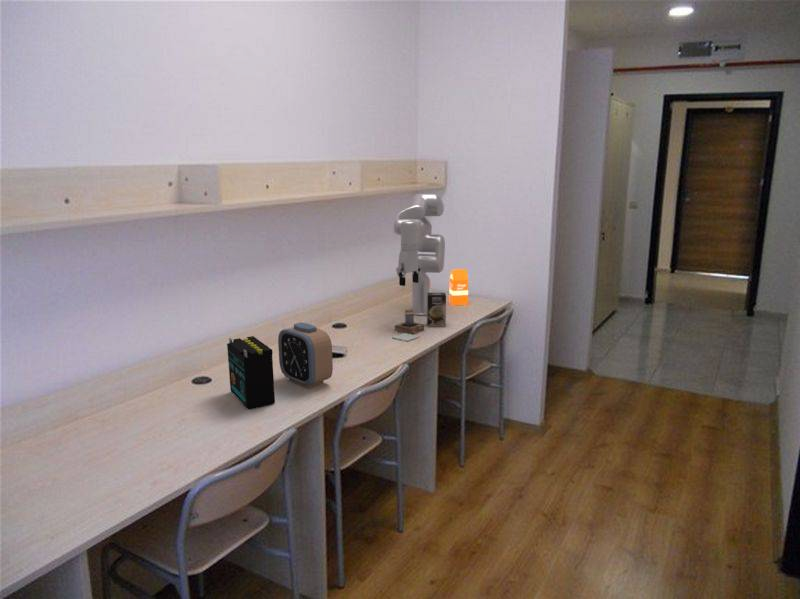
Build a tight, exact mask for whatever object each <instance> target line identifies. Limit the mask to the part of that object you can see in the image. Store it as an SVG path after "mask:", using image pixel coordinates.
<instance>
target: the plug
mask: <svg viewBox="0 0 800 599" xmlns="http://www.w3.org/2000/svg"><path fill="white" fill-rule="evenodd" d="M414 316H415V315H414V311H413V310H411V309H406V310H405V311H404V318H405V319H404V320H405V321H404V322H405V326H407V327H413V326H414V322H415V321H414V320H415V319H414V318H415V317H414Z"/></svg>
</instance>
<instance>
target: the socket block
mask: <svg viewBox="0 0 800 599" xmlns="http://www.w3.org/2000/svg"><path fill="white" fill-rule="evenodd" d="M395 331H397V332H396V333H399V332H402V333H401V334H403V333H408V334H413V335H416V334H418V332H419V333H421V332H425V324H423V323H420V322H419V323H418V322H415V321H414V326H413V327H407V326H405V321H404V322H401V323H398V324H395V325H394V332H395ZM420 331H421V332H420ZM415 333H416V334H415Z"/></svg>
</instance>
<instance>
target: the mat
mask: <svg viewBox="0 0 800 599" xmlns="http://www.w3.org/2000/svg"><path fill="white" fill-rule="evenodd" d="M418 337H420V335H417V334H413V335H412V334H408V333H400V334H397V335H394V336H392V337H391V338H392V339H393V338H395V339H394V340H397V339H399V340H398V341H401V340H404V341H403V342H405V341H408V342H411V341H413V340H412V339H414V340H417V339H419V338H418ZM416 338H417V339H416ZM410 340H411V341H410Z"/></svg>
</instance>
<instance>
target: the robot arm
mask: <svg viewBox="0 0 800 599" xmlns="http://www.w3.org/2000/svg"><path fill="white" fill-rule="evenodd" d="M444 211H445V206H444V202H443V200H442V198H441V196H439V194H438V193H417V194H414V195H413V197H412V199H411V201H410V204H409V207H407V208H405V209H403V210H402V211H400V212H399V213H398V214H397V215H396V217H395V220H394V222H393V231H394V233H395V235H398V236H400V251H399V256H398V261H397V262H398V266H397V267H396V269H395V271H396V275H398V276H397V277H399V281H398V282H399V286H400V287H405V286H406V275H407V274H408V273H411V280H412V284H411V286H412V289H411V291H412V292H411V293H412V294H411V295H412V297H411V298H412V299H411V300H412V302H411V303H412V307H411V309H410V310H413V311H414V316H427V293H431V279H430V277H429V275H427V274H429V273H431V274H432V273H433V274H434V273H435V274H436V273H437V274H439V273H442V272H443V271H444V267H445V253H446V252H445V250H446V242H445V237H444V235H442V234H438V233H437V234H434V233H433V234H432V231H433V230H432V229H433V227H432V223H431V222H430V220H428V219H427V217H442V215H443V213H444ZM418 252H419V253H418ZM427 253H431V254H427ZM432 253H435V254H432Z"/></svg>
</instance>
